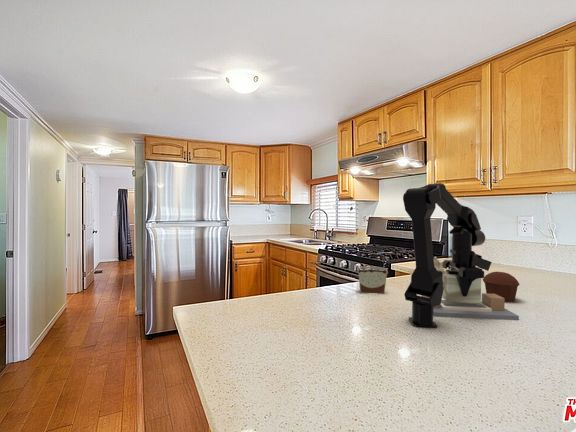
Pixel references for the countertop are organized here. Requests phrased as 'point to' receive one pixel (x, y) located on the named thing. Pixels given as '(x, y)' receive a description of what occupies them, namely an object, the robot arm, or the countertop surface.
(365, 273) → the food container
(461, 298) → the sage block
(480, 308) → the board
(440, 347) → the countertop surface
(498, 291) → the muffin
